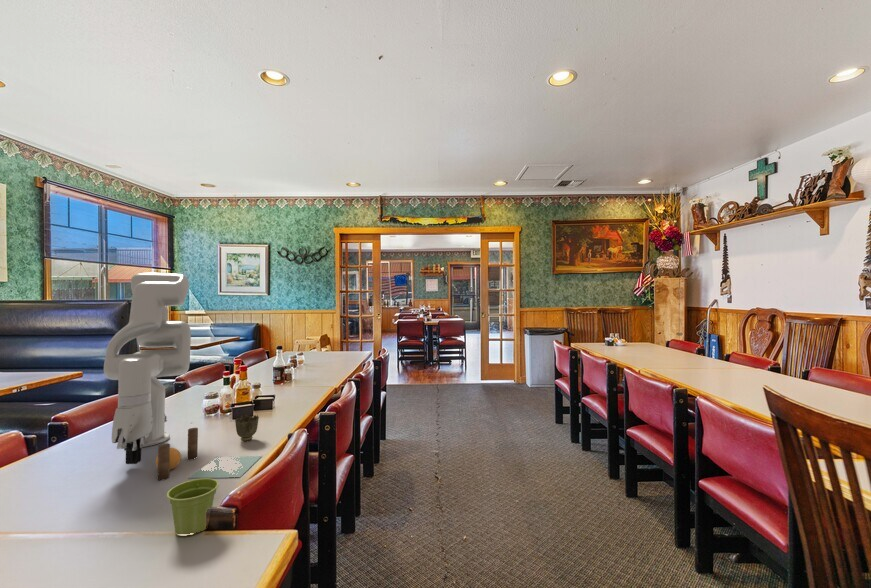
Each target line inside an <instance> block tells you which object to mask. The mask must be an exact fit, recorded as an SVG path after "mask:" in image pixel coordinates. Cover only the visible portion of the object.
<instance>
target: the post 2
mask: <svg viewBox="0 0 871 588" xmlns="http://www.w3.org/2000/svg"><path fill="white" fill-rule="evenodd" d="M198 441H199V428H198V427H192V428H188V429H187V458H188V459H193V460H195V459H194V458H196V457H197V458H198V454H199V453H198V447H199V444H198V443H199V442H198ZM197 458H196V459H197ZM188 459H187V460H188Z"/></svg>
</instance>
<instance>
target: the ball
mask: <svg viewBox="0 0 871 588" xmlns="http://www.w3.org/2000/svg"><path fill="white" fill-rule="evenodd" d="M181 460H182V455H181V452H180V451H179V450H178V449H177V448H174V447H170V461H169V471H171V470H173V469H175V468H176V467H177V466H178V465H179V464H180V462H181ZM155 466H156V468H158V455H157V456H156V458H155Z"/></svg>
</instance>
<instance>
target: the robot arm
mask: <svg viewBox="0 0 871 588" xmlns="http://www.w3.org/2000/svg"><path fill="white" fill-rule="evenodd" d="M189 286H190V282H189V279H188V276H187V275H185V274H182V273H166V272H165V273H162V272H142V273H141V272H140V273H136V274H134V275H132V277H131V279H130V287H131V288H130V289H131V292H132V297H131V306H130V310H129V311H130V313H129V319H128V323H127V324H126V325H125V326H123V327H122V328H121V329H120V330H118V332H116V333H115V334H114V335H113V336H112V338H111V339H110V341H109V343H108V344H107V346H106V352H105V356H104V363H103V374H104V376H105V378H107V379H108V380H111V381H118V383H117V384H118V388H117V391H118V392H117V408H115V411H114V416H113V420H112V426H111V427H112V428H111V442H112V444H117V445H116V449H117V450H122V449H123V450H124V452H125V465H137V464H139V463H141V461H142V448H145V447H150V446H155V445H158V444H159V445H160V444H161V443H164V442H166V441H167V440H169V439H170V437H171V436H170V435H171V434H170V433H169V432H167V431H165V423H166V422H165V421H166V420H165V415H166V412H165V411H166V388H165V386H164V384H163V383H162V381H160V380H159V379H158V378H162V377H175V376H182V375H185V374H187V372H188V371H189V369H190V363H191V342H192V331H191V330H192V329H191V327H190V325H189V323H188V322H186V321H184V320H168V316H169V315H168V314H169V310H168V307H175V306H176V307H180V306H182V305H183V304H184V303H185V301H186V299H187V296H188V292H189V288H190V287H189ZM135 339H136V341H137V344H138V346H140V347H142V348H151V349H145V350H140V351H137V352H134V353H131V354H130V353H129V354H120V351H121V349H122V348H123V347H124V345H126V344H127V343H129V342H130V341H132V340H135ZM153 348H165V349H153ZM166 348H167V349H166ZM168 348H169V349H168ZM171 348H172V349H171Z"/></svg>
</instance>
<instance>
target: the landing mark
mask: <svg viewBox="0 0 871 588" xmlns="http://www.w3.org/2000/svg"><path fill="white" fill-rule="evenodd" d="M217 457H218V458H219V457H220V458H221V457H222V456H214V458H217ZM233 457H234V456H233ZM239 457H240V458H238V457H237V458H236V457H235V458H236V459H235V458H234V459H235V460H236V461H239V460H240V461H239V462H240V463H241V464H242V466H243V468H241V467H242V466H240V467H238V468H239V469H237V471H235V470H233V472H234V473H235V474H233V475H232V473H233V472H232V473H230V474H229V472H226V471H223V470H222V469H220V470H219V468H218V467H219V461H220V460H219V459H218V458H217V459H218V460H219V461H218V460H217V459H216V460H214V458H213V460H214V462H215V463H216V465H217V466H215V467H217V470H216V469H214V471H212V470H211V471H212V472H211V471H209V470H208V471H207V470H206V471H204V470H203V471H202V470H201V468H199V469H200V470H199V469H198V470H196V471H195V472H194V473H192V475H190V476H189V477H188V479H189V480H190V479H203V478H210V479H230V478H229V477H234V478H233V479H236V478H235V477H239V478H238V479H240V478H241V477H243V476H244V474H246V472H247V470H248V469H249V468H250V467H251V466H252V465H253V464H254V465H255V464H256V463H257V462H258V461H259V460H260V459H261V458H262V457H263V456H262V455H261V456H259V455H256V456H255V455H253V456H252V455H251V456H250V455H248V456H246V455H245V456H244V455H243V456H241V455H239ZM231 459H232V458H231ZM234 459H233V460H234ZM237 459H238V460H237ZM211 460H212V459H211ZM213 460H212V461H213ZM221 461H222V460H221ZM227 461H228V460H227ZM209 462H210V461H209ZM209 462H207V463H209ZM210 463H211V462H210ZM210 463H209V464H210ZM240 463H239V464H240ZM235 464H237V463H235ZM254 465H253V466H254ZM253 466H252V467H253ZM215 467H214V468H215ZM252 467H251V468H252ZM220 468H221V467H220ZM223 468H224V467H223ZM240 468H241V469H240ZM251 468H250V469H251ZM211 469H212V468H211ZM250 469H249V470H250ZM231 470H232V469H231ZM249 470H248V471H249ZM238 471H239V472H238ZM237 473H238V474H237ZM236 474H237V475H236Z"/></svg>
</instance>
